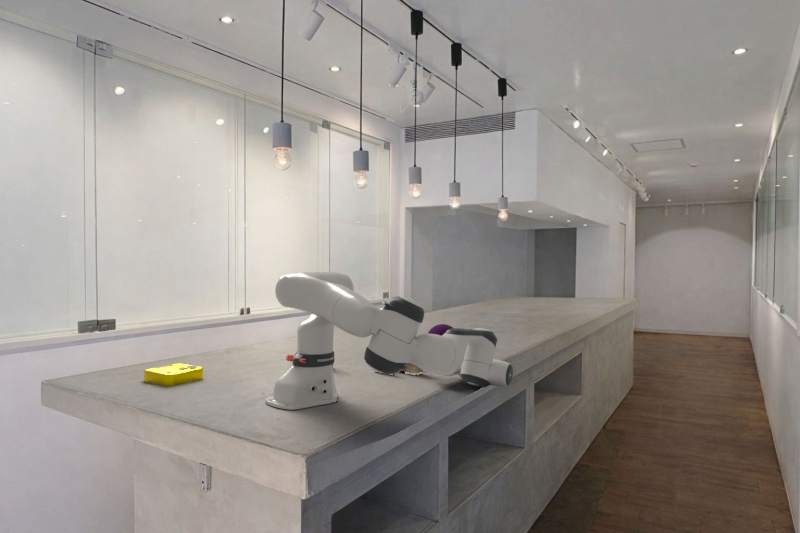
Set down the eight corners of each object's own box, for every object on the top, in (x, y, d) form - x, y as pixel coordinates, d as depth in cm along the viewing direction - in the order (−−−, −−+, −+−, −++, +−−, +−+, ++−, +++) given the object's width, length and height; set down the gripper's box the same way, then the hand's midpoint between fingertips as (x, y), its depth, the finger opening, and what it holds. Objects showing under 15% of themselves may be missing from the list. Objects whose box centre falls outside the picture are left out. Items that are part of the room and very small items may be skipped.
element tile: (179, 374, 200) (179, 361, 200) (205, 379, 192) (205, 366, 192) (141, 382, 187) (141, 368, 187) (168, 387, 179) (168, 373, 179)
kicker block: (414, 376, 199) (415, 349, 199) (404, 374, 202) (404, 347, 202) (422, 374, 202) (422, 347, 202) (412, 372, 206) (412, 346, 205)
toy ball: (421, 360, 229) (422, 325, 229) (429, 354, 243) (430, 321, 243) (456, 362, 225) (456, 327, 224) (462, 356, 239) (463, 323, 239)
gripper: (452, 382, 178) (419, 376, 187) (484, 372, 194) (453, 367, 203) (452, 363, 178) (419, 358, 187) (485, 355, 194) (453, 350, 203)
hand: (437, 362), depth 195 cm, fingers open, 8 cm apart
